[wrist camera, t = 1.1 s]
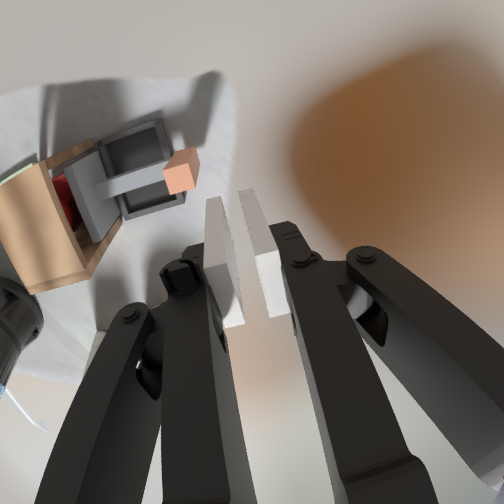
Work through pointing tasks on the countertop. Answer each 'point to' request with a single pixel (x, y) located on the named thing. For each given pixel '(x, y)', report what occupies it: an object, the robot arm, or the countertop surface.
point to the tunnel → (46, 229)
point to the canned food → (67, 201)
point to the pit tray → (137, 155)
